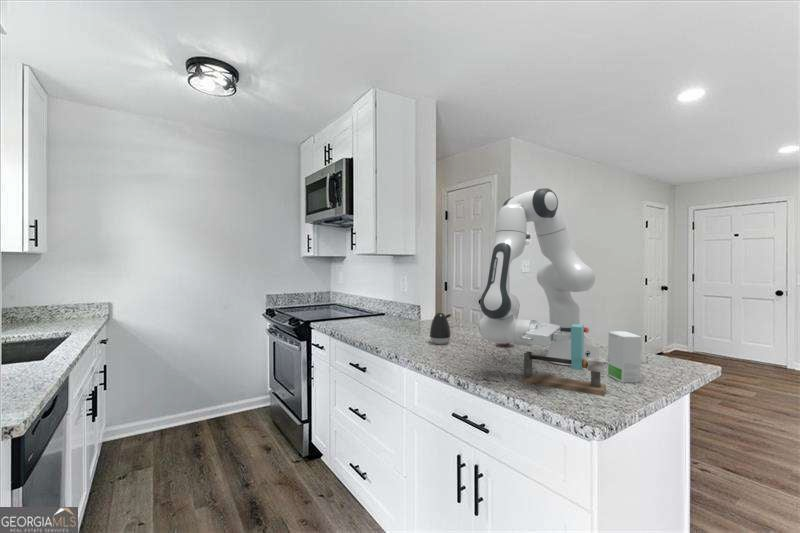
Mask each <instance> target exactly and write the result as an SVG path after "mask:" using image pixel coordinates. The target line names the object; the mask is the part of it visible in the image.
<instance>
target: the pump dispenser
mask: <svg viewBox="0 0 800 533" xmlns="http://www.w3.org/2000/svg"><path fill="white" fill-rule="evenodd" d="M451 317H452V314H451V313H450V314H444V313H443V312H437V313H436V314H435V315H434V316H433V319H432V322H431V324H430V328H429V337H430V340H431V342H432V343H433V344H434V345H435V344H436V345H446V344H447V343H449V341H450V338H451V336H452V334H451V333H452V332H451V329H450V328H451V327H450V324H449V320H448V318H451Z"/></svg>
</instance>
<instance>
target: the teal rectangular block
mask: <svg viewBox="0 0 800 533" xmlns="http://www.w3.org/2000/svg"><path fill="white" fill-rule="evenodd" d="M584 327H585V324H580V325H578V324H573V325H572V326H571V365H570V367H571V370H575V371H583V370H584V368H583V366H582V361H583V359H584V336H585V332H584Z"/></svg>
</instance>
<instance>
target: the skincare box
mask: <svg viewBox="0 0 800 533" xmlns="http://www.w3.org/2000/svg"><path fill="white" fill-rule="evenodd" d="M607 349H608V350H607V351H608V352H607V376H608V377H610V378H613V379H614V380H616V381H618V382H620V383H622V384H627V383H631V384H632V383H640V380H641V352H642V336H641V335H638V334H635V333H633V332H628V331H625V330H621V331H620V330H619V331H617V330H616V331H613V330H612V331H608V348H607Z"/></svg>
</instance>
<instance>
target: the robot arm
mask: <svg viewBox="0 0 800 533" xmlns="http://www.w3.org/2000/svg"><path fill="white" fill-rule="evenodd" d="M558 205H559V200H558V197H557V195H556V193H555V192H554V191H553V190H552V189H551V188H548V187H547V188H546V187H545V188H538V189H536V190H535V189H534V190H530V191H525V192H523V193H521V194H518V195H515V196H511V197H510V198H508V199H507V200H505V201H504V202H503V204H502V207H501V208H500V209H499V211H498V215H497V217H496V218H497V219H496V223H495V228H494V237H493V238H494V240H493V250H492V254H491V260H490V265H489V272H488V278H487V283H486V286H485V288H484V291H483V293H482V295H481V296H480V301H479V306H480V309H481V311H482V313H483V314H484V315H483V317H481V318H480V319H479V321H478V322H479V323H478V329H479V330H478V331H479V333H480V336H481V337H482V338H483V339H484V340H486V341H488V342H492V343H498V344H501V343H504V344H505V343H510V344H513V345H516V346H524V347H532V346H540V347H547V352H546V356H545V357H553V358H561V359H569V360H571V326H572V325H573V324H578V325H581V324H580V323H581V322H580V319H581V318H580V316H581V314H580V313H581V312H580V306H579V304H578V303H577V302H575V300H574V299H573V297H572V293H580V292H586V291H589V290H591V289H592V288H593V287H594V284H595V281H596V275H595V272H594V270H593V269H592V267H590V266H588V265H587V264H586V263H585V262H583V261H582V260H581V258H580V257H579V255H578V254H577V253H576V252H575V249H574V248H573V245H572V244H571V240H570V238H569V237H570V236H569V233H568V231H567V228H566V224H565V221H564V219H563V216H562V214H561V211H560V209H559V208H558V207H559V206H558ZM529 222H530V223H531V222H532V223H533V226H534V231H535V234H536V239H537V240H538V242H537V243H538V245H539V248H540V251H541V254H542V256H544V257H546V258H547V259H548V260H549V261H550V262H551V263H548V264H545V265H543V266H540V268H538V270H537V273H536V279H537V280H536V281H537V283H538V284H539V285H540V287H541V288H542V290H543V291H544V294H545V296H546V300H547V303H548V309H549V310H548V312H549V323H547V322H539V321H538V320H532V319H523V318H522V319H520V318H518V316H519V312H520V301H519V298H517V297H516V296H515V295H514V294H513V293H510V292H508V288H507V287H508V279H509V271H510V267H511V264H512V262H513V260H515V259H517V258H519V257H520V256H521V255H522V254H523V253H524V250H525V246H526V242H527V224H528V223H529ZM589 332H590V328H589V327H586V326H584V333H586V334H588V333H589ZM589 358H594V359H602V360H603V364H606V363H607V360H606V359H605V358H604V357H602V356H600V351H599V347H598V345H597V344H596V343H594V342H593V341H592V340H590V339H589V338H587V337H586V336H585V335H584V359H585V360H587V362H588V359H589ZM548 362H549V363H553V364H557V365H564V366H571V364H565V363H558V362H550V361H548Z"/></svg>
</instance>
